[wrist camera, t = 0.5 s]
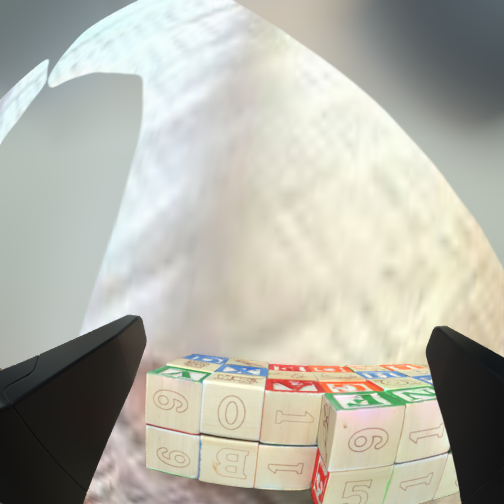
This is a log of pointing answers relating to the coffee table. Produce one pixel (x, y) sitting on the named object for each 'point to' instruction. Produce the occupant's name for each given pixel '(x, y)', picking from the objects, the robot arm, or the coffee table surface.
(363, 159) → the coffee table surface
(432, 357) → the robot arm
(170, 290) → the coffee table surface
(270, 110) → the coffee table surface
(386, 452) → the stack of blocks
